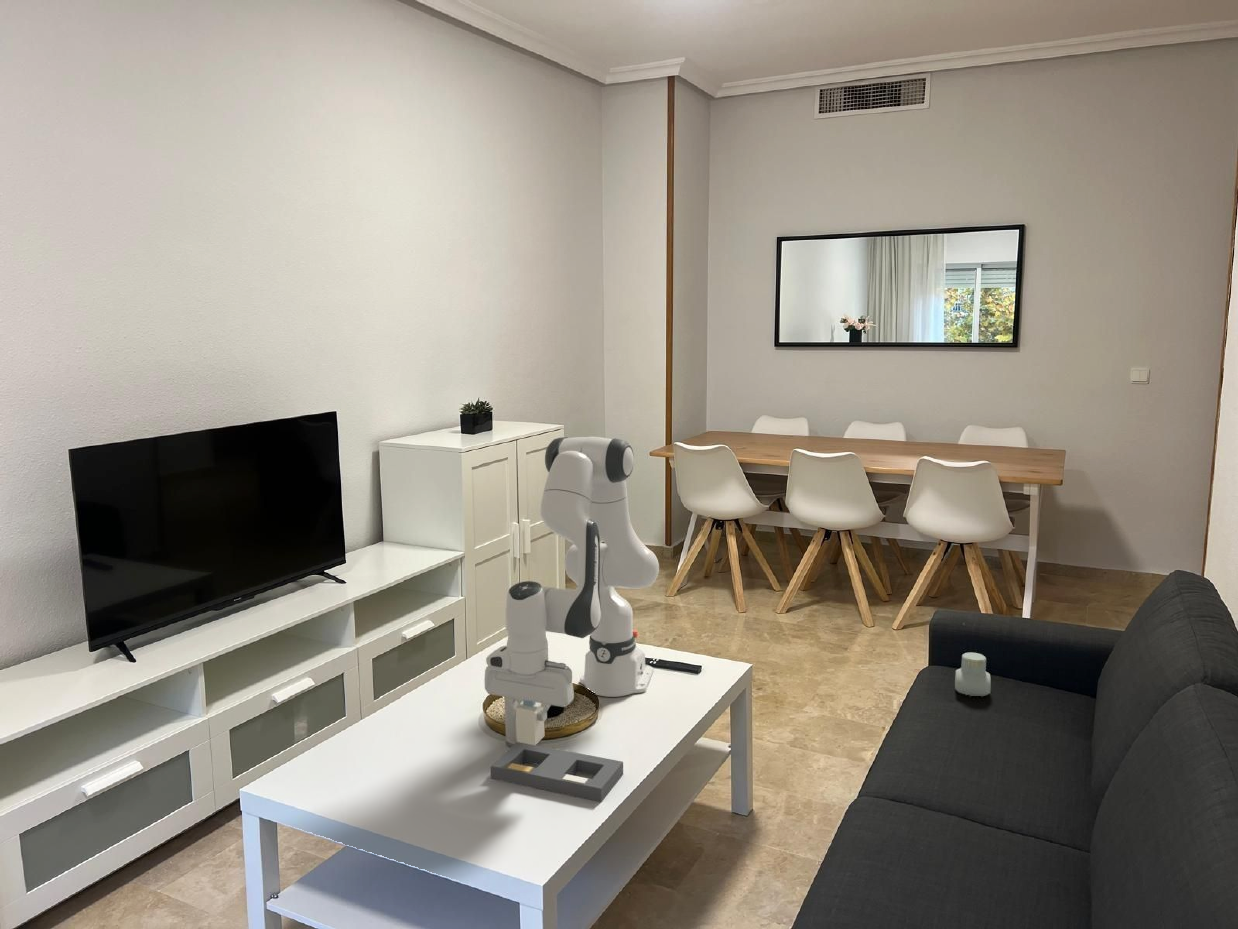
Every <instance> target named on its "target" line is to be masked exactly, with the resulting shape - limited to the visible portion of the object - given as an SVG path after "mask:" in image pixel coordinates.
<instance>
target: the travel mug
mask: <svg viewBox="0 0 1238 929" xmlns="http://www.w3.org/2000/svg"><path fill="white" fill-rule="evenodd" d="M503 698H504V727H505V744H506V745H507V747H509V748H510V747H512V746H513V745H514V744H515V743H516V742H517V736H516V716H513V709H512V708H511V706H510V704H509V703H508V697H503ZM516 700H517V702H518V704H520V703H521V702H522V701H523V700H520V699H516Z"/></svg>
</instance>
